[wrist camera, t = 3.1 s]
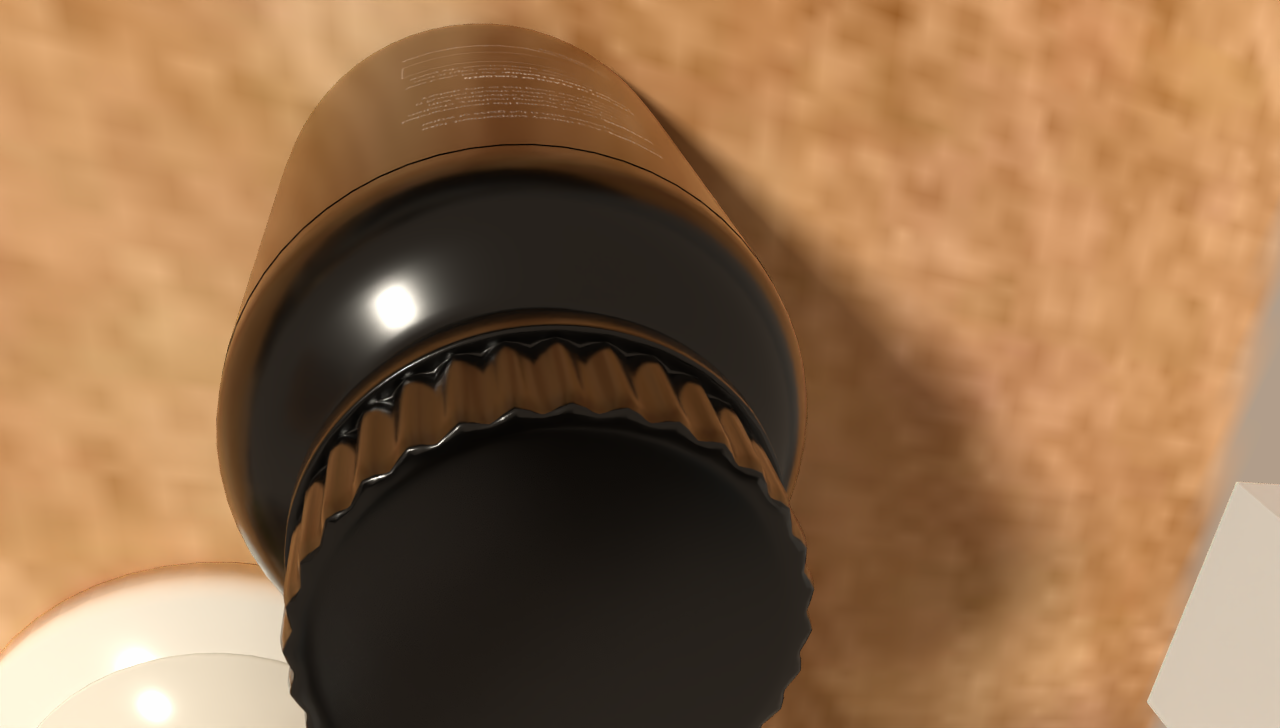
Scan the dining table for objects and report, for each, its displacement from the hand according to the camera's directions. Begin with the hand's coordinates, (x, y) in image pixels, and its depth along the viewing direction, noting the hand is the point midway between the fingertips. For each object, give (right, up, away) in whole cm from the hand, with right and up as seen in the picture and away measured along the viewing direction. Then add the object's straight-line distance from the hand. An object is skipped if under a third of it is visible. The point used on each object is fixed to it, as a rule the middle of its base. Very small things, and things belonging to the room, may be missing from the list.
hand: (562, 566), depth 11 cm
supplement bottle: (-2, +5, +10) cm, 12 cm away
